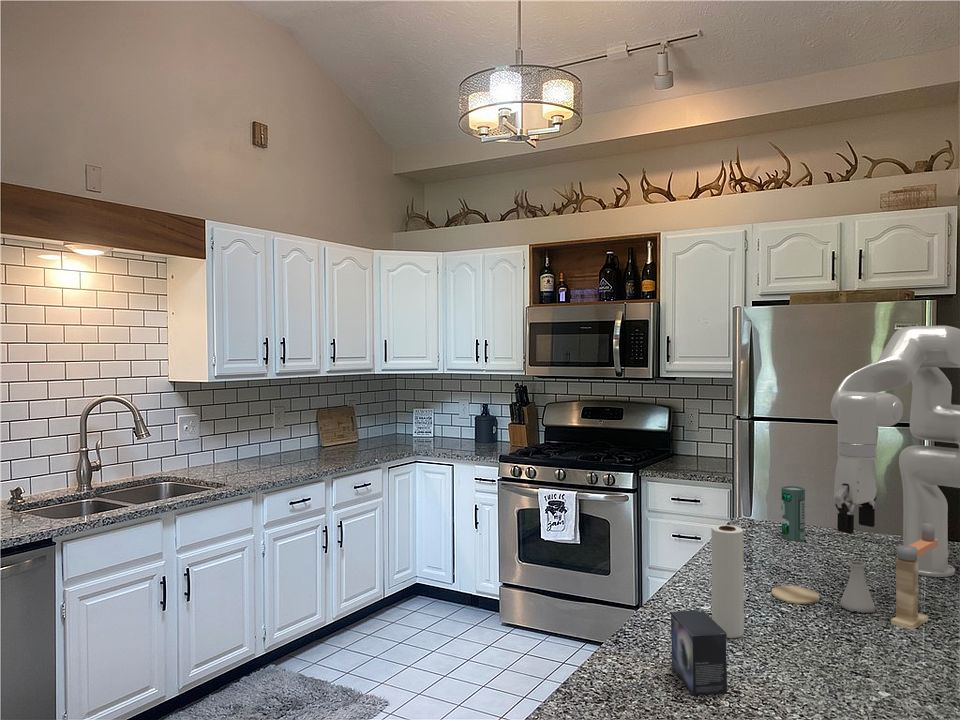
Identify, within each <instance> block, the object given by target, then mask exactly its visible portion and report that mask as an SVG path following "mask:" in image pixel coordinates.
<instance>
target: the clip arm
mask: <svg viewBox="0 0 960 720" xmlns="http://www.w3.org/2000/svg"><path fill="white" fill-rule="evenodd" d="M936 547H938V539H935V525H934V524H931V523H922V539H921V540H919V541H917V542H915V543H913V544H911V545H909V546H907V545H903V544H899V545H897V546H896V557H897V558H896V559H898V558H899V559H902V560H907V561H916V560H917V558H918V557H919V556H921V555H923V554H925V553H927V552H929V551H930V550H932V549H934V548H936Z"/></svg>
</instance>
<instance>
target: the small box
mask: <svg viewBox="0 0 960 720" xmlns="http://www.w3.org/2000/svg"><path fill="white" fill-rule="evenodd" d="M670 630H671V631H670V632H671V633H670V634H671V636H670V637H671V645H670V646H671V668H672V669H673V670H674V672H675V673H676V674H677V675H678V677H679V678H680V680H681V681H682V683H683V684H684V685H685V687H686V688H687V689H688V691H689V692H690V693H691V695H692V696H707V695H708V696H710V695H725V694H728V692H729V691H728V690H729V689H728V674H727V673H728V670H727V669H728V668H727V667H728V666H727V633H726V632H725V631H724V630H723V629H722V628H721V627H720V626H719V625H718V624H717V623H716V622H715V621H714V620H713V619H712V617H711V616H710V615H708V613H707V612H705V611H704V610H703V609H692V610H691V609H689V610H677V611H670Z"/></svg>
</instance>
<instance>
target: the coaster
mask: <svg viewBox="0 0 960 720" xmlns="http://www.w3.org/2000/svg"><path fill="white" fill-rule="evenodd" d="M771 595H773V596H774V597H776V598H777V600H778V599H780V600H783V601H786V602H785V603H787V602H789V603H788V604H792V603H794V604H793V605H800V604H809V605H814V604H813V603H815V604H817V603H819V602H820V594H819V593H818V592H816V590H812V589H810V588H807V587H803V586H797V585H777V586H774V587H772V589H771ZM773 596H772V597H773ZM774 597H773V598H774ZM776 598H775V599H776ZM780 600H779V601H780ZM783 601H782V602H783ZM818 601H819V602H818ZM816 602H817V603H816Z"/></svg>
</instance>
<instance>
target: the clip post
mask: <svg viewBox="0 0 960 720" xmlns="http://www.w3.org/2000/svg"><path fill="white" fill-rule="evenodd" d="M895 567H896V568H895V576H896V577H895V598H896V599H895V602H896V603H895V608H896V609H895V610H896V611H895V614H896V615H895V617H892V618H891V619H890V625H892V626H895V625H896V626H895V627H899V628H902V627H903V628H902V629H906V630H910V631H913V630H916V629H917V628H918V627H920V626H922V625H924V624H925V623H926V622H928V621H929V615H927V614H925V613H920V612H919V575H918V560H916V561H907V560H902V559H899V558H896V560H895Z"/></svg>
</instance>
